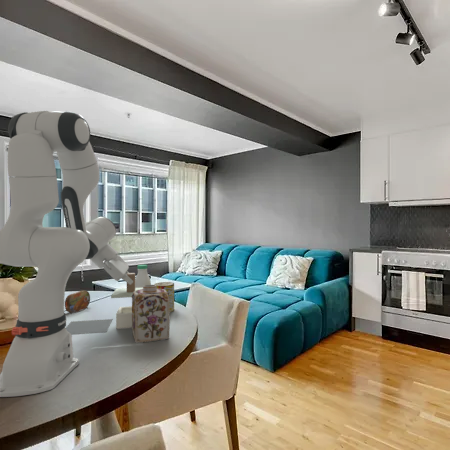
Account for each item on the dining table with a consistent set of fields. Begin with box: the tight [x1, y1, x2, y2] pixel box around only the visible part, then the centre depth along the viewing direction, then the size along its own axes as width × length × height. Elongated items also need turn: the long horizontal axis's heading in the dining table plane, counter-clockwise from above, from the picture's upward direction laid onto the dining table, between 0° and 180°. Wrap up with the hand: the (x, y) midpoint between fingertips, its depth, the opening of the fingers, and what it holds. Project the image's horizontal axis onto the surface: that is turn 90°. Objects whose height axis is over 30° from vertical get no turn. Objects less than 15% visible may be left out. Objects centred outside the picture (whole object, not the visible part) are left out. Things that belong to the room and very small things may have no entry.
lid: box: [110, 272, 143, 299], centre depth 125 cm, size 13×13×8 cm
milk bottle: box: [135, 264, 152, 288], centre depth 151 cm, size 8×8×20 cm
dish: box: [115, 305, 132, 330], centre depth 125 cm, size 10×10×6 cm
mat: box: [65, 318, 113, 336], centre depth 122 cm, size 16×16×1 cm
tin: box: [64, 290, 91, 314], centre depth 147 cm, size 15×3×8 cm, turn 168°
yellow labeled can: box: [153, 281, 175, 313], centre depth 147 cm, size 9×9×12 cm
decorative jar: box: [131, 284, 171, 344], centre depth 113 cm, size 12×12×18 cm
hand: (132, 282), depth 125 cm, fingers closed on lid, 3 cm apart
